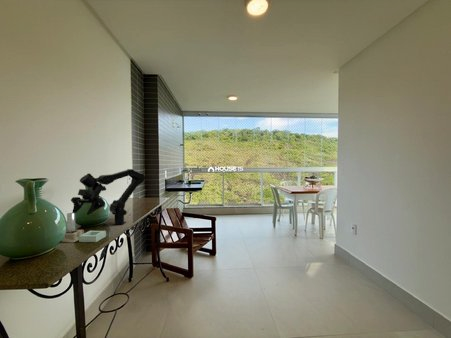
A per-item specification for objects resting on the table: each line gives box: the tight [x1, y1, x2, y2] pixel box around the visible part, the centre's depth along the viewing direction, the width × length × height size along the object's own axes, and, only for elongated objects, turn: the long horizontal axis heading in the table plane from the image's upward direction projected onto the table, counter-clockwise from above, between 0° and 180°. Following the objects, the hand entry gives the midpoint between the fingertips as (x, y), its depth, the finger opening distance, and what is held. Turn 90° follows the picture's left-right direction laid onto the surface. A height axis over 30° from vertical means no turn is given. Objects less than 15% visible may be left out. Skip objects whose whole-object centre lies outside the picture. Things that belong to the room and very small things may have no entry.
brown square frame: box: [61, 229, 85, 243], centre depth 118 cm, size 8×8×4 cm
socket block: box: [78, 230, 107, 243], centre depth 119 cm, size 9×9×3 cm
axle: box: [66, 212, 76, 233], centre depth 118 cm, size 4×4×14 cm
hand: (80, 214), depth 123 cm, fingers open, 9 cm apart
